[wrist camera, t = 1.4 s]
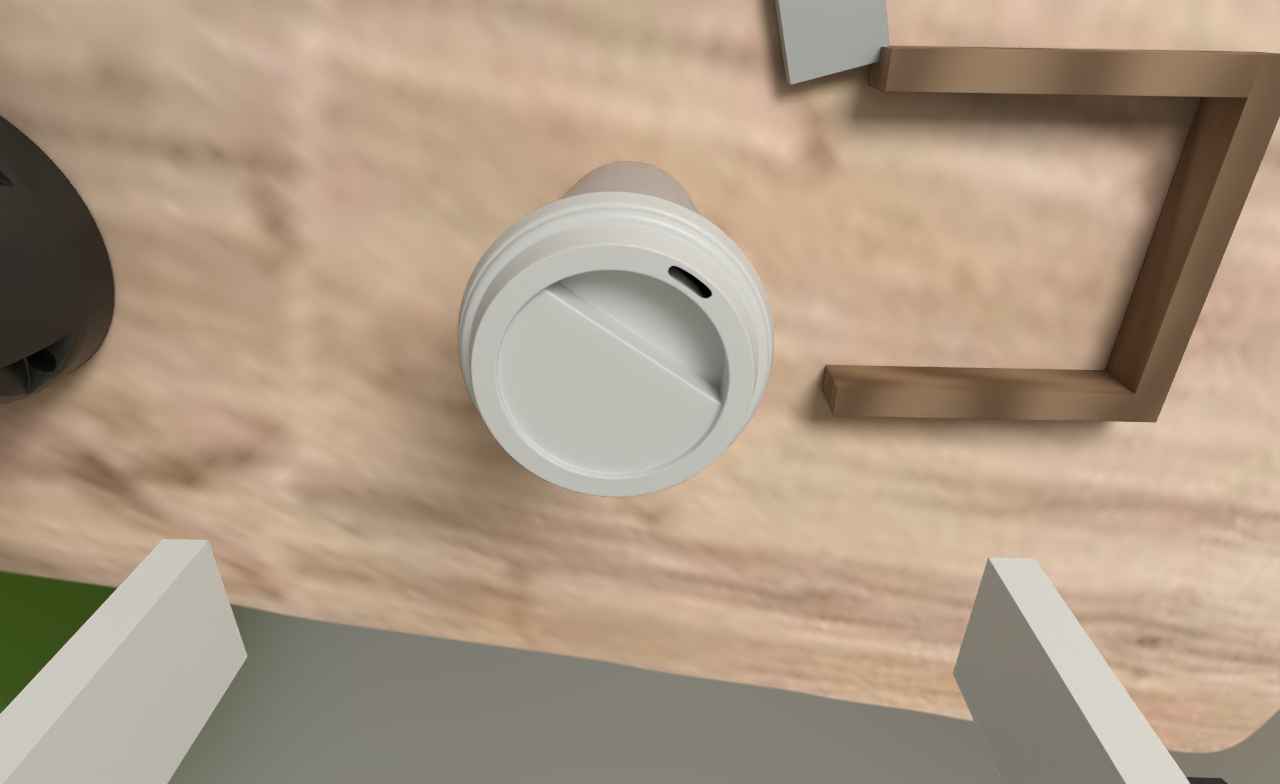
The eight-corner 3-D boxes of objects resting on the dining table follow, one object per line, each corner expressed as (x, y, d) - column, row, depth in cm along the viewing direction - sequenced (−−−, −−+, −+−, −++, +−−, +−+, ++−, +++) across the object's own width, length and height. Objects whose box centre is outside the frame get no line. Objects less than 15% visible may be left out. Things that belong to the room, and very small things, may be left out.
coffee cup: (768, 265, 34) (843, 429, 21) (600, 362, 36) (570, 564, 23) (662, 78, 30) (670, 133, 17) (482, 201, 33) (367, 331, 20)
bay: (822, 391, 37) (833, 415, 35) (874, 45, 30) (892, 48, 27) (1126, 397, 37) (1156, 422, 35) (1255, 51, 29) (1304, 55, 27)
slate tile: (786, 82, 30) (790, 84, 29) (771, -25, 28) (774, -26, 28) (883, 56, 30) (890, 58, 29) (873, -54, 28) (881, -56, 27)
